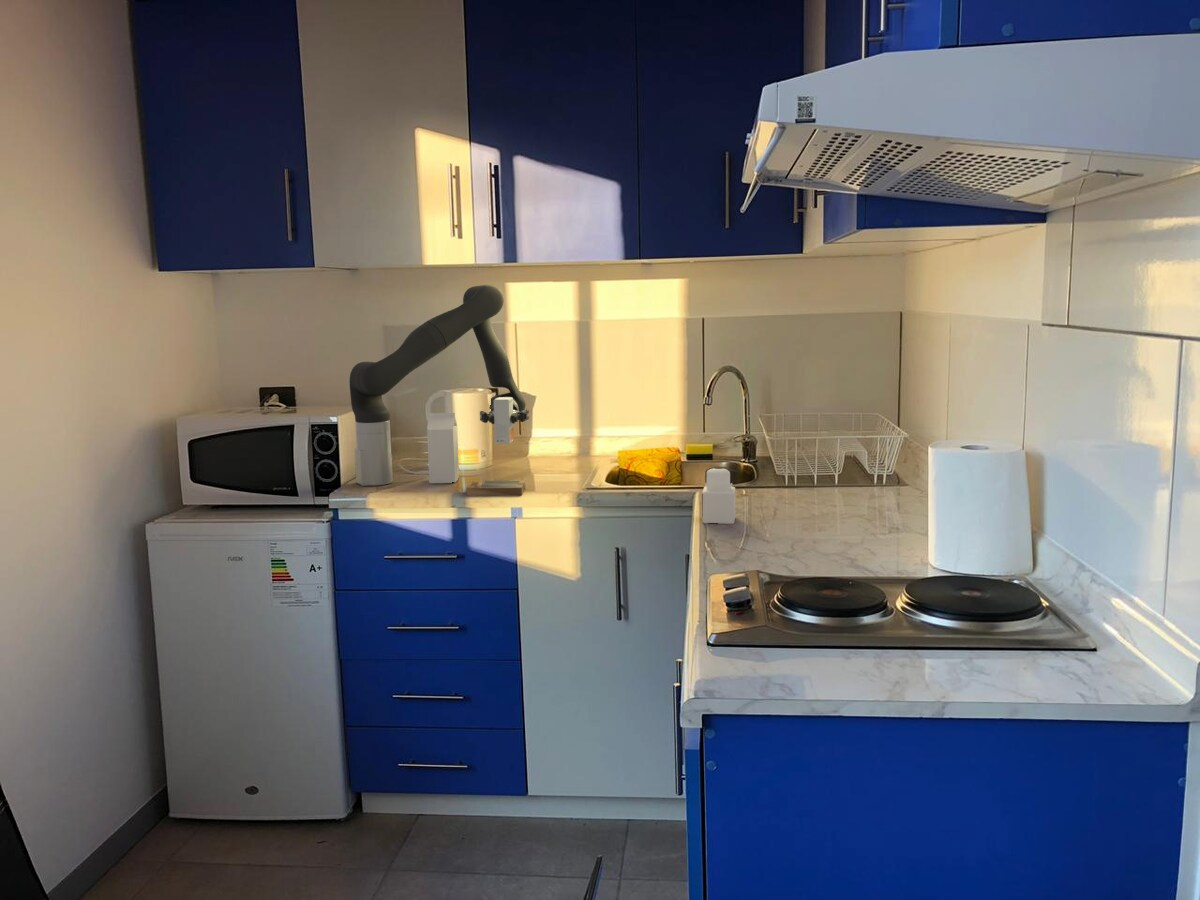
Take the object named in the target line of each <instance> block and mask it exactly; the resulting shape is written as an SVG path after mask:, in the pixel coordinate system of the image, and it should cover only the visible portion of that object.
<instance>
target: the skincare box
mask: <svg viewBox="0 0 1200 900" xmlns="http://www.w3.org/2000/svg"><path fill="white" fill-rule="evenodd" d="M512 414H513V398H512V397H498V398H496V399H495V400H494V424H493V426H494V427H493V428H494V429H493V431H494V444H496V445H498V444H499V445H509V444H511V443H512V442H513V441H514V440H515V435H514V434H515V432H514V431H515V430H514V424H512Z"/></svg>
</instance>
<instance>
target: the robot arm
mask: <svg viewBox="0 0 1200 900" xmlns="http://www.w3.org/2000/svg"><path fill="white" fill-rule="evenodd" d="M504 300H505V298H504V294H503V292H502V291H501V289H500V288H499V287H497V286H495V285H490V284H484V285H483V284H482V285H475V286H474V285H473V286H471V287H469V288H467V289H466V291H465V292H464V293H463V298H462V304H461V305H458V307H455V308H453V309H451V310H448V311H446V312H445V311H444V312H442V313H441V314H438V315H436V316H434V317H431V318H430V319H428V320H426V321H425V322H423V323H422V324H421V325H419V326H418V327H416V328H415V329H413V330H412V331H411V332H410V333H409V334H408V335H407V336H406V338H405V340H403V342H402V344H401V345H400V346H399V347H398V348H397V349H396V350H395V351H394V352H392V353H390V354H389V355H388V356H386V357H384V358H382V359H381V360H378V361H376V362H375V361H361V362H357V364H354V366H353V367H352V368H351V371H350V372H349V373H350V374H349V392H350V393H349V395H350V404H351V409H352V412H353V415H354V421H355V441H356V443H355V444H356V448H354V458H355V459H354V461H355V479H356V480H355V481H356V483H357V484H358V485H360V486H361V487H363V486H366V487H367V486H383V485H387V484H391V483H393V476H394V474H393V461H392V456H393V455H392V439H391V438H392V437H391V421H390V419H391V418H390V417H391V416H390V415H391V414H390V410H389V409H388V408H387V407H386V405H385V404H384V401H383V396H384V395H386V394H387V393H389V392H390V391H391V390H392V389H393V388H394V387H395V386H397V385H398V383H400V382H401V381H402V380H403V379H405V378H406V376H408V375H409V374H410V373H412V372H413V371H415V370H416V369H418V368H420V367H421V366H422V365H424V364H425V363H427V362H429V361H430V360H431V359H433V358H435V357H436V356H437V355H439V354H441V352H443V351H445V349H447V348H448V347H450V346H451V345H452V344H454V343H455V342H456V341H458V340H459V339H461V338H462V337H463V336H464V335H466V333H468V332H469V331H470V330H472V331H473V332H474V333H473V334H474V335H475V337H476V340H477V343H478V347H479V348H480V351H481V354H482V357H483V361H484V365H485V366H484V367H485V369H486V370H485V371H486V375H487V377H488V382H489V384H490V386H491V388H496V389H497V388H503V389H507V390H508V391H509V392H506V393H501V394H497V395H494V396H492V397H491V398H490V399H491V405H490V407H489V410H490V409H491V411H489V412H487V411H484V410H480V411H479V421H481V422H482V423H484V424H487V423H488V422H489V423H491V425H494V400H495V399H496V398H498V397H512V398H513V414H512V424H513V425H514V424H516V423H518V422H521V423H525V422H526V421H527V420H529V419H530V410H528V409H526V401H525V398H524V397H523V394H522V393H521V391H520V390H519V388H518V386H517V384H516V382H515V380H514V377H513V373H512V369H511V364H510V361H509V358H508V355H507V352H506V351H505V348H504V346H503V345H502V343H501V342H500V340H499V338H498V337H497V335H496V333H495V330H494V328H493V325H492V321H491V320H492V319H491V318H493V317H495V316H496V315H497V314H498V313H499V312H501V310H502V309H503V306H504V303H505V301H504Z"/></svg>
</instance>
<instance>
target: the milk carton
mask: <svg viewBox="0 0 1200 900" xmlns="http://www.w3.org/2000/svg"><path fill="white" fill-rule="evenodd" d="M455 413H456V412H429V413H428V421H427V426H426V436H427V439H426V441H427V456H428V457H427V458H428V460H427V464H428V482H429V484H453V483H452V482H455V483H456V482H457V481H458V480H459V479H460V470H459V469H460V468H459V464H460V463H459V447H458V446H459V442H458V441H459V439H458V424H457V420H456V417H455V416H456V415H455ZM458 478H459V479H458Z"/></svg>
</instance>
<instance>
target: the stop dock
mask: <svg viewBox="0 0 1200 900" xmlns="http://www.w3.org/2000/svg"><path fill="white" fill-rule="evenodd" d="M525 491H526V481H525V480H485V481H484V482H483V483H482V484H481V486H479V481H477V480H476V481H472V482H471V483H470V484H469V485H468V486H467V487H466V496H467V497H482V496H483V497H487V496H488V497H490V496H491V497H492V496H493V497H496V496H497V497H501V496H502V497H503V496H504V497H505V496H506V497H507V496H509V497H511V496H522V495H523V494H524V492H525Z"/></svg>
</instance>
